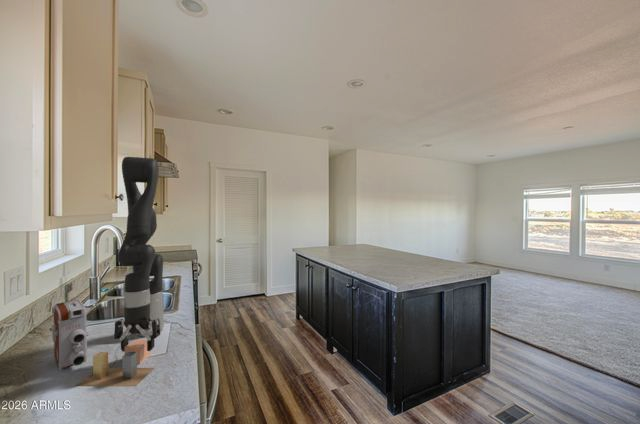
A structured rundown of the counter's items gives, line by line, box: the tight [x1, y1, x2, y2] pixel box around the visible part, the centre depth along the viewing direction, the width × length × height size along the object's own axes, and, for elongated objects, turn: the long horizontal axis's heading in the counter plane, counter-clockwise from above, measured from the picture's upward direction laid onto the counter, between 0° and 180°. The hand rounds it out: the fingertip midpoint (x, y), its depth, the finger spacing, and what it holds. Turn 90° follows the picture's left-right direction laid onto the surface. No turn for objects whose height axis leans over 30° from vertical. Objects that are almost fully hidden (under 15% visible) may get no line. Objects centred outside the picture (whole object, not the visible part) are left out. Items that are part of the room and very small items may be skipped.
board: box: [75, 367, 155, 387], centre depth 84 cm, size 9×18×1 cm, turn 90°
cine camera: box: [51, 299, 91, 371], centre depth 92 cm, size 9×19×20 cm, turn 49°
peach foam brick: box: [124, 339, 151, 365], centre depth 93 cm, size 5×5×7 cm
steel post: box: [121, 352, 138, 379], centre depth 84 cm, size 3×3×7 cm
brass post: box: [92, 351, 109, 379], centre depth 84 cm, size 3×3×7 cm
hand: (137, 350), depth 93 cm, fingers open, 8 cm apart
